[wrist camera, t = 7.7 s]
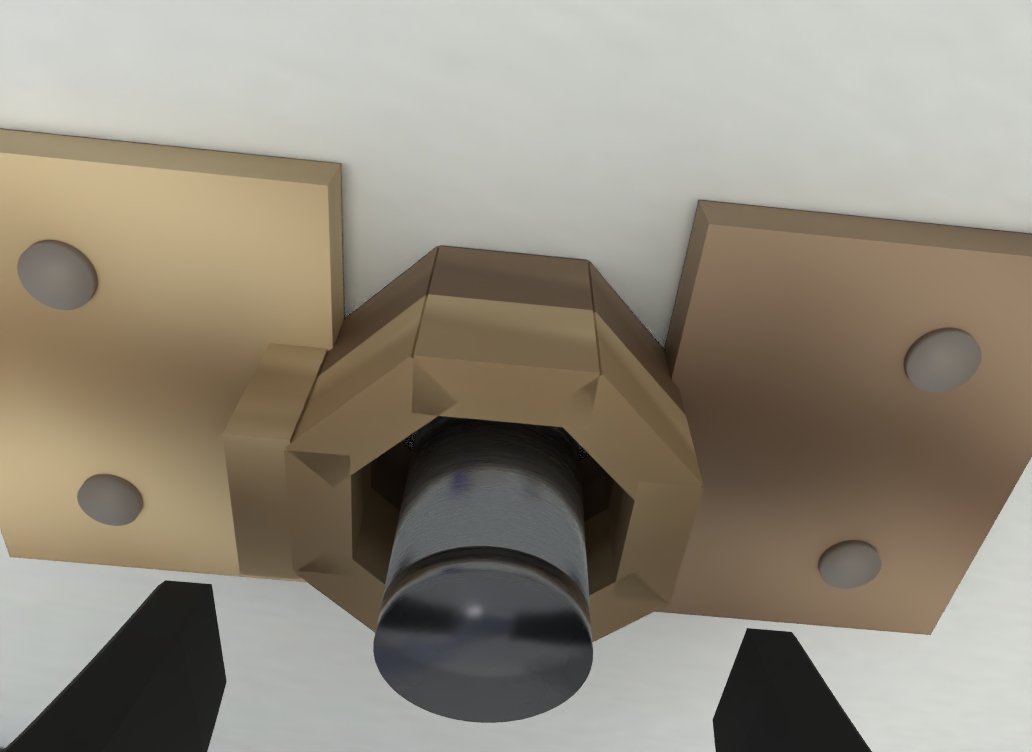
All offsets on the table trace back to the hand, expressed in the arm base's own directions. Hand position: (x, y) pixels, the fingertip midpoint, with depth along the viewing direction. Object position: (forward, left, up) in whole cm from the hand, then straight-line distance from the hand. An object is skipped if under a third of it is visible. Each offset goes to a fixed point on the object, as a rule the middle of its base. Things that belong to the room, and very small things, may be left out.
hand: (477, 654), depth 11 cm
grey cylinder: (0, 0, -6) cm, 6 cm away
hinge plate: (0, -3, -6) cm, 7 cm away
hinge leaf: (0, +3, -6) cm, 7 cm away
